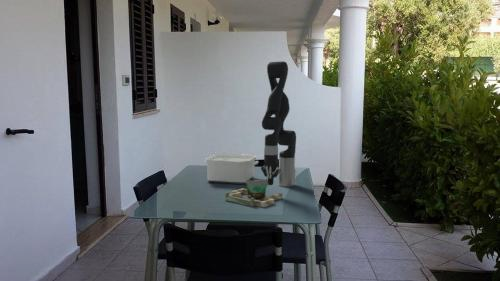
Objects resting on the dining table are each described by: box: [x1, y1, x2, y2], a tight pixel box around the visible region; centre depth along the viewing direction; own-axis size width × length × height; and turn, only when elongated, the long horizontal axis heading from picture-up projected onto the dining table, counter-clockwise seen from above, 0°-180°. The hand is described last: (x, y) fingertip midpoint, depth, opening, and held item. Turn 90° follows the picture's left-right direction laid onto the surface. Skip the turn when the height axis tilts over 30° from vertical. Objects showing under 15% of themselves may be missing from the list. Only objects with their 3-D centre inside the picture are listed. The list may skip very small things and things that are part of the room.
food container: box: [245, 177, 268, 200], centre depth 243 cm, size 12×6×10 cm, turn 105°
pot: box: [204, 152, 259, 185], centre depth 289 cm, size 34×29×15 cm
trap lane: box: [224, 188, 283, 208], centre depth 241 cm, size 24×28×4 cm
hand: (270, 184), depth 251 cm, fingers closed
